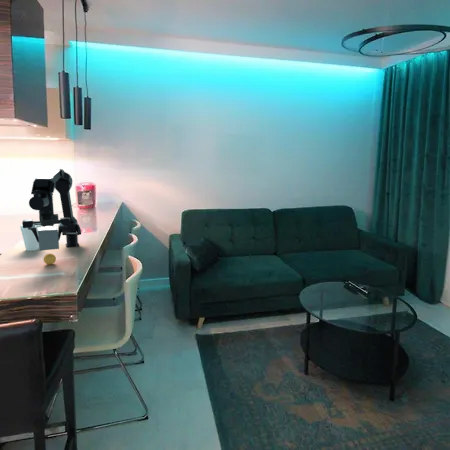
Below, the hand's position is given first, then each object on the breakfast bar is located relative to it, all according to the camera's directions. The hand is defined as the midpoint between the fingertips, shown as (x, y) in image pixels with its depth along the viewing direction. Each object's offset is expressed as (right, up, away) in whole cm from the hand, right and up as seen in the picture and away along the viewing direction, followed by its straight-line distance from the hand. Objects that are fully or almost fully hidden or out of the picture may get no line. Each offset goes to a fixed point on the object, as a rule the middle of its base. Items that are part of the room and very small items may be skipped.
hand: (48, 241), depth 152 cm
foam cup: (-22, -6, +27) cm, 35 cm away
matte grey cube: (0, -3, +1) cm, 3 cm away
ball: (-1, -8, +2) cm, 9 cm away
